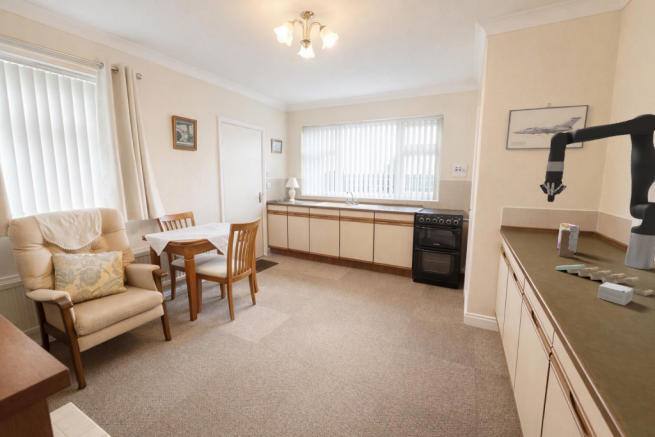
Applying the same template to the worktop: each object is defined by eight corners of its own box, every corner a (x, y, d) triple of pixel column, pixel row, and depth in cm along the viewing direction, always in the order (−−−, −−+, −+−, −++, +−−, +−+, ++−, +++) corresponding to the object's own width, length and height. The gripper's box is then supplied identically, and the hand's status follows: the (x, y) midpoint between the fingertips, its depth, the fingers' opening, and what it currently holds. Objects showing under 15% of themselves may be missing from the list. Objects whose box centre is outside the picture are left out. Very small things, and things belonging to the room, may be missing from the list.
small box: (604, 293, 114) (606, 281, 114) (632, 301, 108) (634, 288, 107) (596, 297, 111) (598, 285, 110) (624, 306, 104) (627, 292, 103)
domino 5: (601, 279, 125) (631, 278, 116) (607, 278, 127) (638, 277, 118) (602, 283, 124) (633, 282, 115) (609, 281, 126) (639, 281, 117)
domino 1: (555, 266, 142) (578, 265, 132) (561, 265, 143) (585, 264, 134) (556, 270, 141) (579, 269, 132) (562, 268, 143) (586, 268, 134)
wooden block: (558, 256, 165) (562, 230, 162) (558, 254, 167) (561, 229, 165) (573, 257, 161) (577, 231, 159) (572, 256, 164) (576, 230, 162)
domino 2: (566, 269, 137) (591, 268, 128) (573, 268, 139) (598, 267, 130) (567, 273, 137) (592, 272, 128) (574, 272, 138) (599, 270, 129)
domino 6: (613, 283, 121) (645, 292, 112) (620, 281, 123) (652, 290, 113) (612, 286, 121) (645, 296, 112) (619, 285, 123) (652, 294, 114)
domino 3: (577, 272, 133) (604, 271, 124) (584, 271, 135) (610, 270, 125) (578, 276, 132) (605, 275, 123) (585, 275, 134) (612, 274, 125)
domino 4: (589, 276, 129) (618, 274, 120) (595, 274, 131) (624, 273, 122) (591, 279, 128) (620, 278, 119) (597, 278, 130) (625, 277, 121)
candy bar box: (556, 248, 181) (559, 222, 178) (565, 248, 180) (568, 223, 177) (566, 253, 170) (570, 226, 168) (576, 253, 169) (580, 226, 167)
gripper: (537, 170, 162) (533, 201, 165) (563, 170, 150) (559, 203, 153) (546, 170, 165) (542, 200, 168) (572, 170, 152) (568, 203, 155)
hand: (550, 201), depth 160 cm, fingers closed
